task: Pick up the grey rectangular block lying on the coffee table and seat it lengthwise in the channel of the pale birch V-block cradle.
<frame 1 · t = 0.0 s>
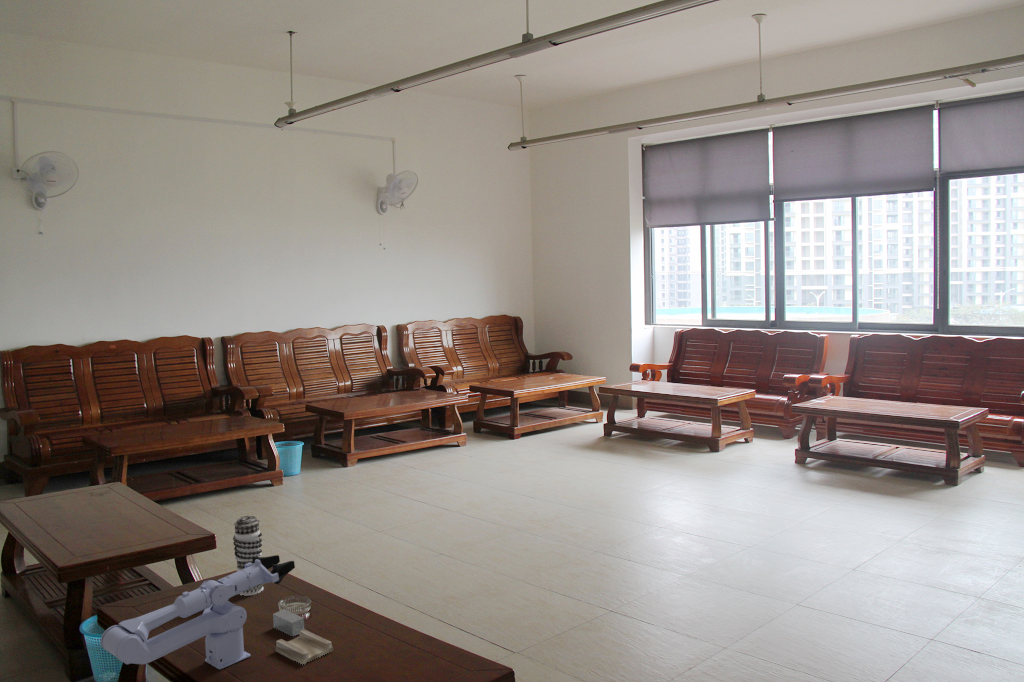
hand: (286, 561, 228), 22 cm above the table, tool horizontal, fingers open, 7 cm apart
grey rectangular block: (289, 630, 232), on the table
decorative candle: (250, 591, 262), on the table
cradle: (304, 651, 218), on the table
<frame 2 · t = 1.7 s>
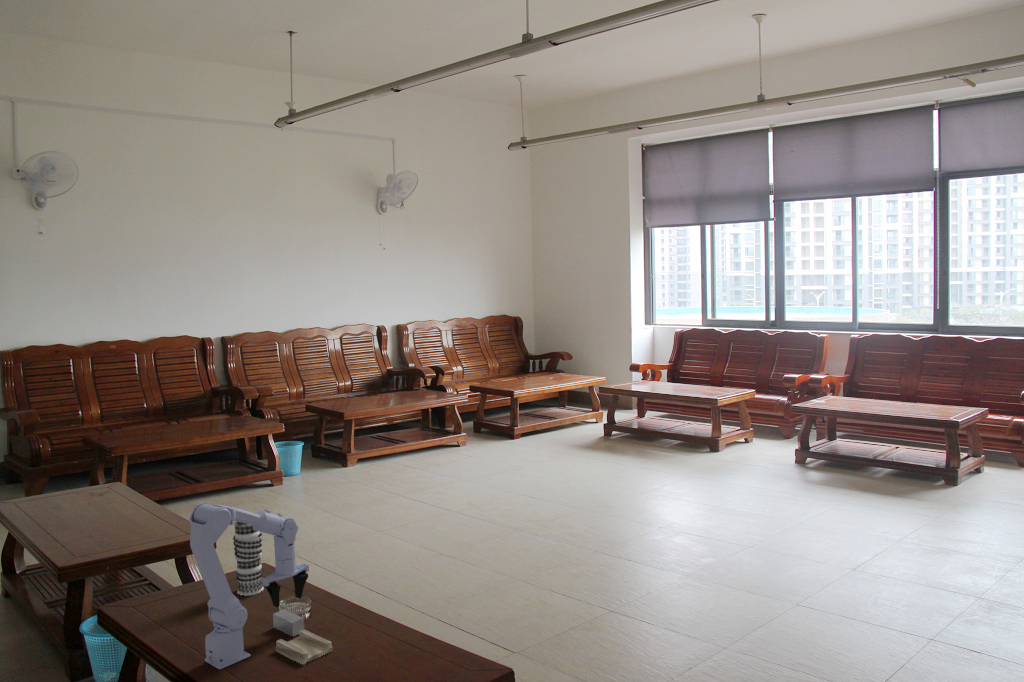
hand: (287, 601, 231), 9 cm above the table, tool pointing down, fingers open, 7 cm apart
nothing on the table moved.
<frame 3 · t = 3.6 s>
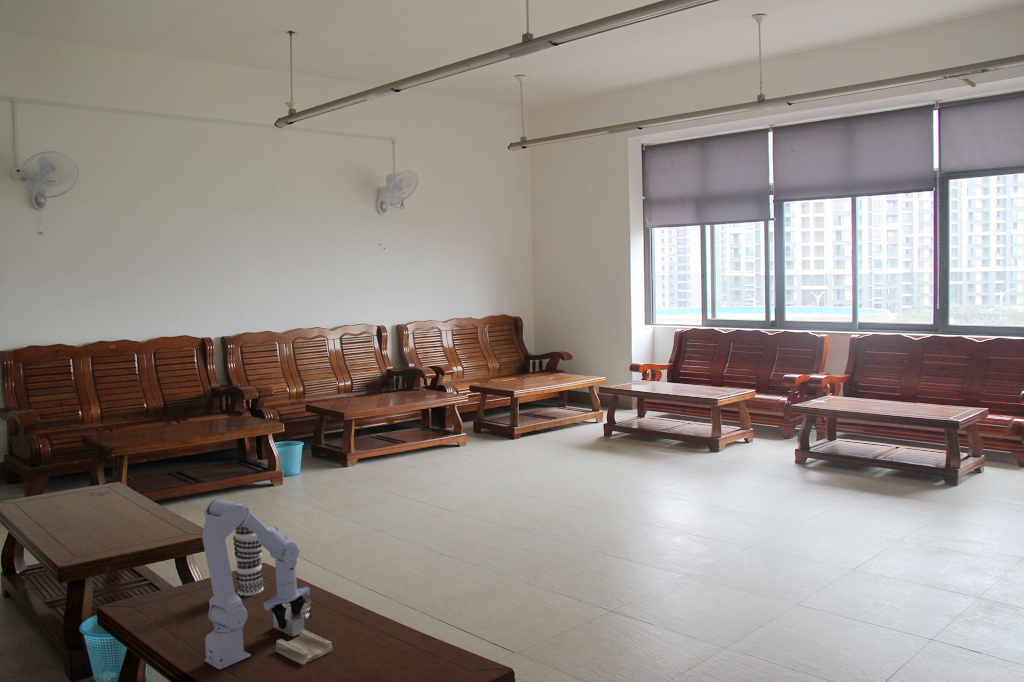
hand: (288, 625, 232), 1 cm above the table, tool pointing down, fingers closed on grey rectangular block, 4 cm apart
grey rectangular block: (289, 629, 232), on the table, touching gripper
everything else where it was.
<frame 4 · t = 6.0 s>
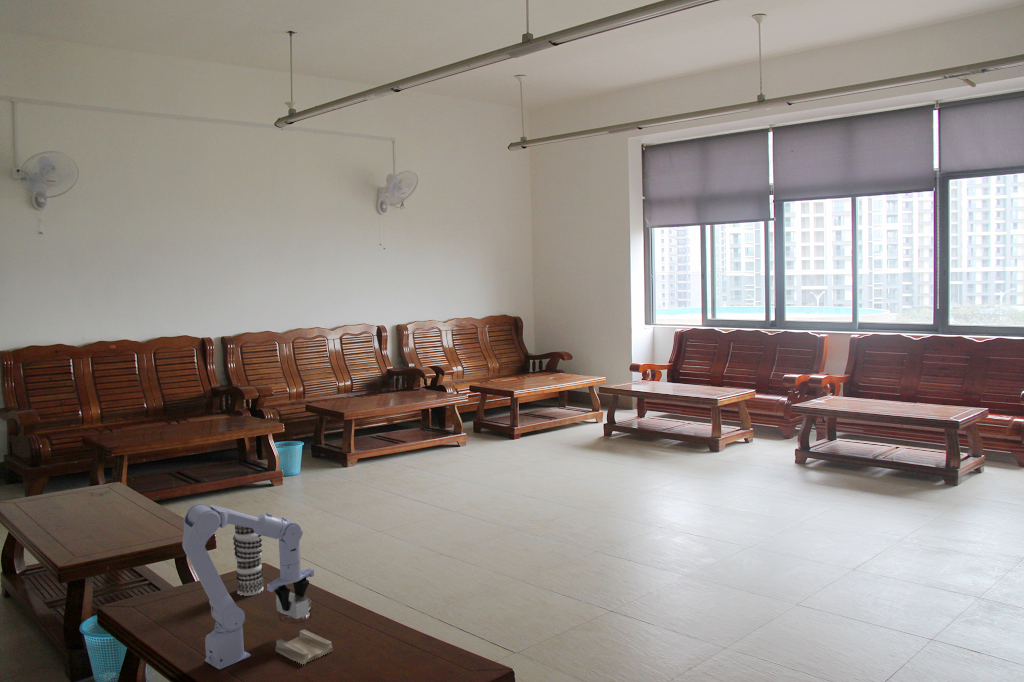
hand: (292, 607, 227), 9 cm above the table, tool pointing down, fingers closed on grey rectangular block, 4 cm apart
grey rectangular block: (292, 612, 227), point 7 cm above the table, touching gripper
everything else where it was.
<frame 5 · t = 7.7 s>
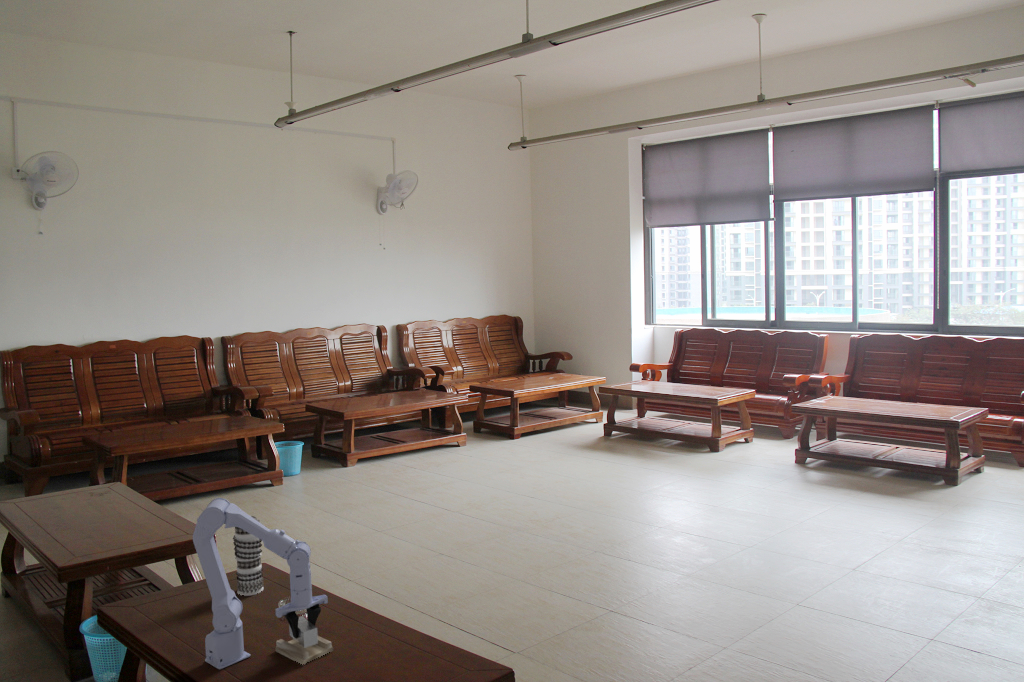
hand: (303, 634, 218), 5 cm above the table, tool pointing down, fingers closed on grey rectangular block, 4 cm apart
grey rectangular block: (303, 639, 218), point 3 cm above the table, touching gripper
everything else where it was.
when the fingers open (4 cm above the table, at t = 8.8 s): grey rectangular block stays where it is, resting on cradle.
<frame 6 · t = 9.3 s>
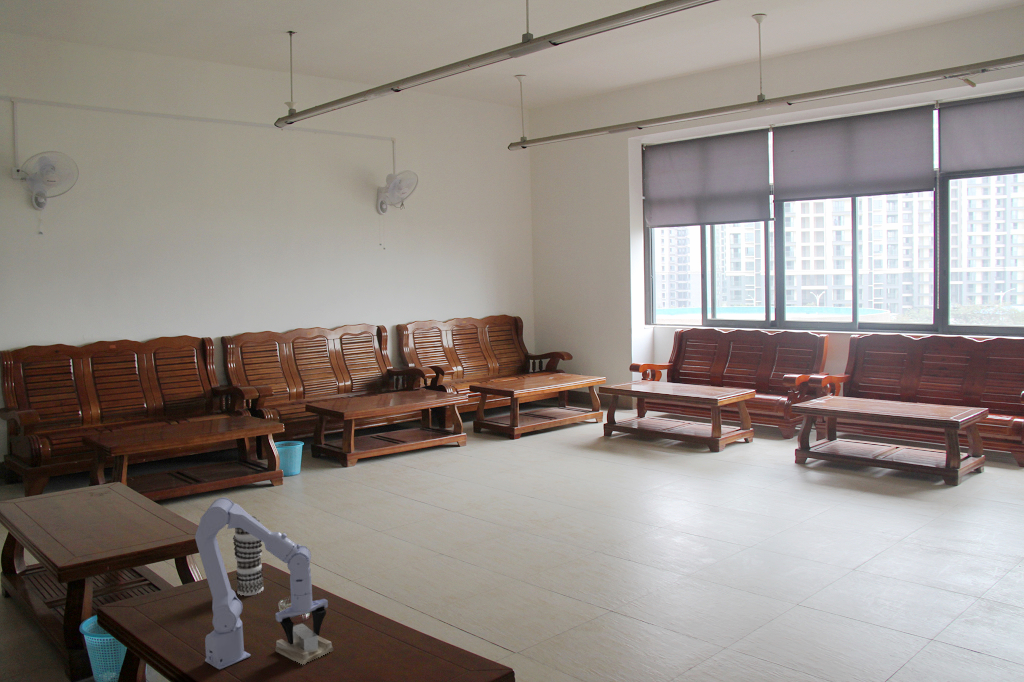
hand: (303, 638, 218), 4 cm above the table, tool pointing down, fingers open, 7 cm apart
grey rectangular block: (303, 646, 218), point 1 cm above the table, touching cradle
everything else where it was.
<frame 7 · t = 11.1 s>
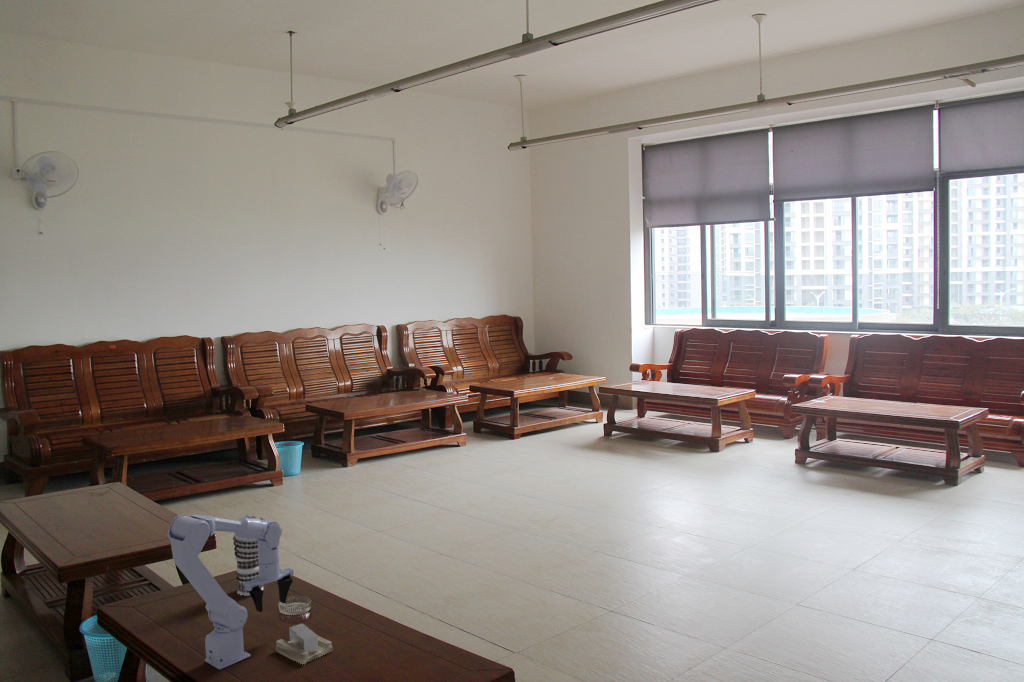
hand: (271, 606, 227), 9 cm above the table, tool pointing down, fingers open, 7 cm apart
nothing on the table moved.
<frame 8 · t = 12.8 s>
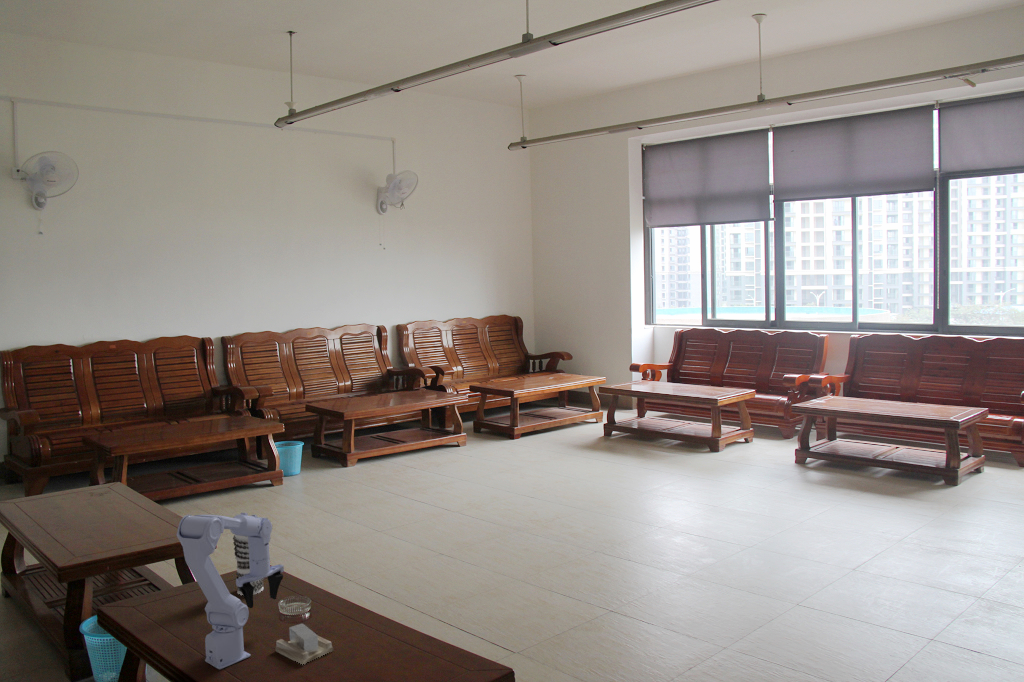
hand: (261, 602, 229), 9 cm above the table, tool pointing down, fingers open, 7 cm apart
nothing on the table moved.
at the end: grey rectangular block 0.1 cm off-centre on the cradle, point 1.2 cm above the cradle's base; grey rectangular block tilted 0°; the gripper is holding nothing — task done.
